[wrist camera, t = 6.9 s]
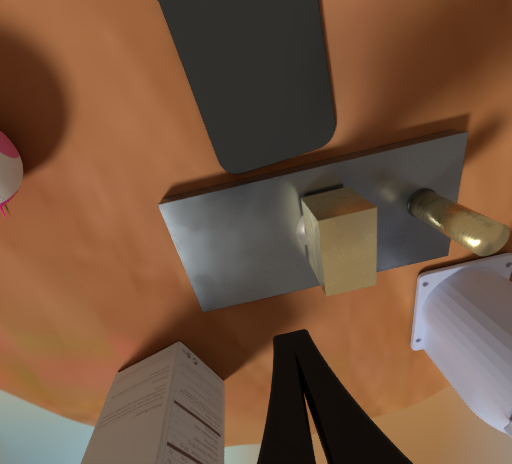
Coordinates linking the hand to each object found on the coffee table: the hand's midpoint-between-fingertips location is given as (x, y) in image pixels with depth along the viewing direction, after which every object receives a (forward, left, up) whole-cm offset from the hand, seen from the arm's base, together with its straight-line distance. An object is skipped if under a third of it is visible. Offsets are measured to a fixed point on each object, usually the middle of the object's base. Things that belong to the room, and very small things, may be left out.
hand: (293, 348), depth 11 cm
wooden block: (+1, -4, -8) cm, 9 cm away
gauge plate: (0, -4, -9) cm, 10 cm away
